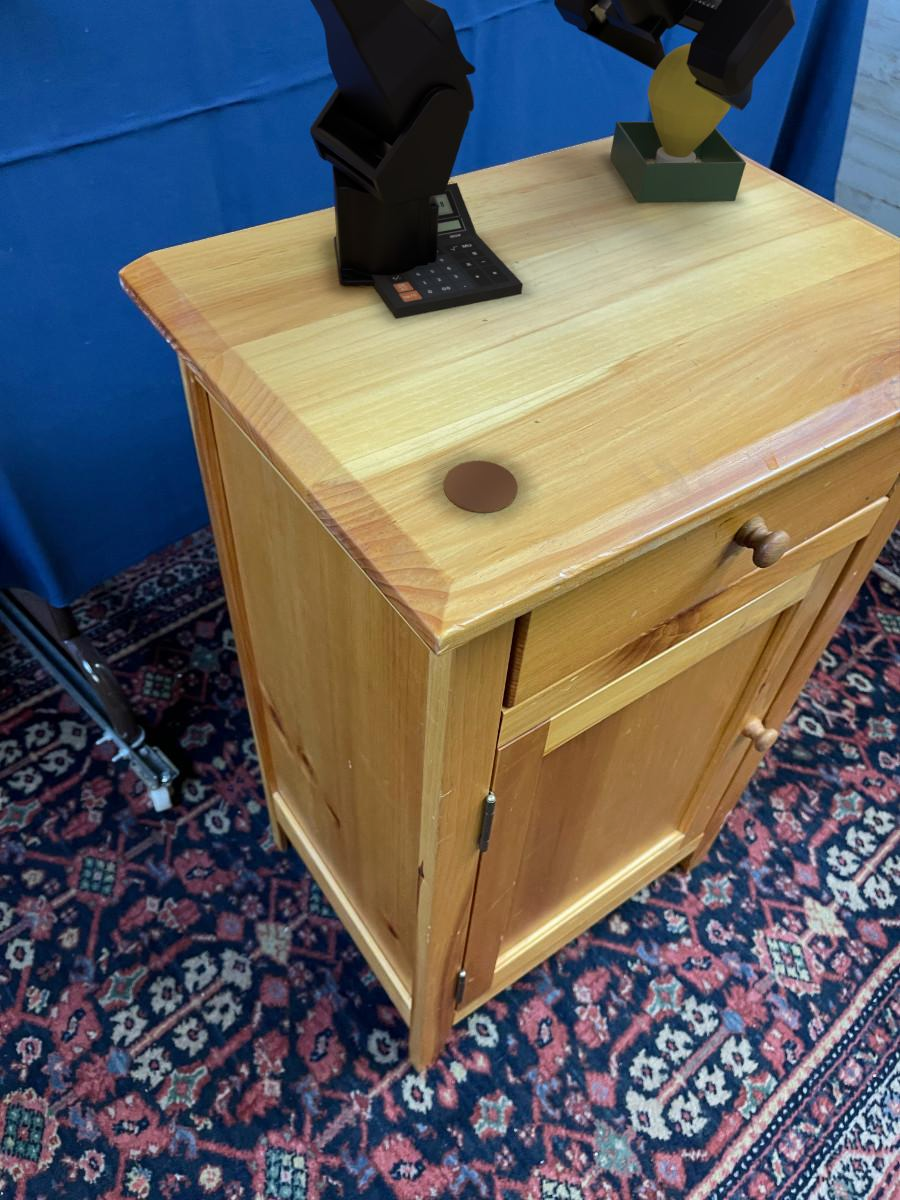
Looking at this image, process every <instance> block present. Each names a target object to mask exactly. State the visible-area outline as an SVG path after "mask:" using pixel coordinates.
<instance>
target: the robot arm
mask: <svg viewBox="0 0 900 1200" xmlns="http://www.w3.org/2000/svg"><path fill="white" fill-rule="evenodd" d="M309 1H310V3H311V4H312V7H313V8H314V9H315V11H316V13H317V14H318V16H319V18H320V21H321V24H322V25H323V30H324V36H325V45H326V51H327V52H326V53H327V59H328V65H329V67H330V70H331V72H332V75H333V77H334V81H335V82H336V83H335V84H336V85H337V87H336V88H335V90H334V91H333V93H332V94H331V95H330V97H329V99H328V100H327V102H326V103H325V105H324V106H323V108H322V110H321V111H320V112H319V113H318V115H317V117H316V118H315V120H314V121H313V123H312V125H311V126H310V128H309V133H310V136H311V138H312V141H313V143H314V147H315V149H316V151H317V154H318V157H319V158H321V159H322V160H323V161H325V162H326V161H327V163H330V164H331V165H332V183H333V184H332V185H333V200H334V201H333V202H334V203H333V204H334V221H335V236H334V237H333V246H334V247H333V248H334V253H335V260H336V261H335V262H336V269H337V276H338V284H339V285H340V286H342V287H344V288H345V287H347V288H349V287H373V286H375V280H374V279H373V278H372V276H371V274H372V275H395V274H401V273H404V272H407V271H409V270H412V269H413V268H415V267H416V266H424V265H428V264H429V263H434V262H435V261H436V260H437V241H438V215H439V205H438V202H437V199H436V196H435V195H437V194H441V193H444V192H445V191H446V188H447V185H448V184H449V182H450V178H451V175H452V173H453V169H454V166H455V163H456V160H457V156H458V154H459V150H460V147H461V145H462V142H463V141H462V140H463V139H464V134H465V131H466V129H467V127H468V125H469V120H470V115H471V113H472V112H473V111H474V109H475V99H474V98H475V96H474V92H473V89H472V84H471V82H470V80H469V78H468V75H473V74H475V72H476V67H475V66H474V65H473V64H472V63H471V62H469V61H468V59H466V57H465V55H464V53H463V52H462V51H461V48H460V45H459V41H458V38H457V34H456V30H455V26H454V23H453V21H452V19H451V17H450V15H449V13H448V11H447V9H446V8H444V7H442V6H440V5H438V4H436V3H434V2H432V1H430V0H309ZM553 5H554V6H555V8H556V10H557V11H558V13H559V14H560V16H561V18H562V19H563V21H564V22H565V23H568V24H570V25H572V26H574V27H576V28H577V29H578V31H580V32H582V33H584V34H586V35H587V36H590V37H591V38H593V39H595V40H597V41H599V42H601V43H602V44H605V45H606V46H609V48H612V49H613V50H616V51H618V52H619V53H621V54H624V55H625V56H626V57H629V58H631V59H633V60H634V61H636V62H638V63H640V64H642V65H643V66H645V67H647V68H649V69H651V70H652V71H655V70H656V68H657V66H658V65H659V64H660V62H661V61H662V60H663V59H664V57H665V56H666V53H665V49H664V45H663V42H662V40H661V37H662V36H663V35H664V33H665V32H666V30H670V29H671V30H672V28H674V27H675V26H680V27H681V28H684V29H686V30H688V31H690V32H693V33H696V35H695V37H694V38H693V39H692V40H691V42H690V43H691V45H690V50H689V54H688V59H687V63H686V64H687V66H688V68H689V70H690V72H691V74H692V75H693V76H694V77H695V78H696V79H697V80H696V81H695V84H696V85H698V86H699V87H701V88H703V89H704V90H706V91H708V92H709V93H711V94H713V95H714V96H716V97H718V98H719V99H721V100H723V101H724V102H726V103H728V104H729V105H731V107H733V108H734V109H736V110H738V111H740V112H742V111H743V110H744V109H745V108H746V106H747V105H748V104H749V103H750V101H751V100H752V95H753V89H754V88H753V86H754V79H755V77H756V75H758V73H759V72H760V71H761V69H762V67H763V66H764V65H765V64H766V63H767V61H768V60H769V59H770V57H772V55H773V54H774V52H775V51H776V50H777V49H778V47H779V46H780V44H781V43H783V41H784V39H786V37H787V35H788V34H789V33H790V31H792V29H793V28H794V26H795V25H796V14H795V10H794V7H793V3H792V0H553Z"/></svg>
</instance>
